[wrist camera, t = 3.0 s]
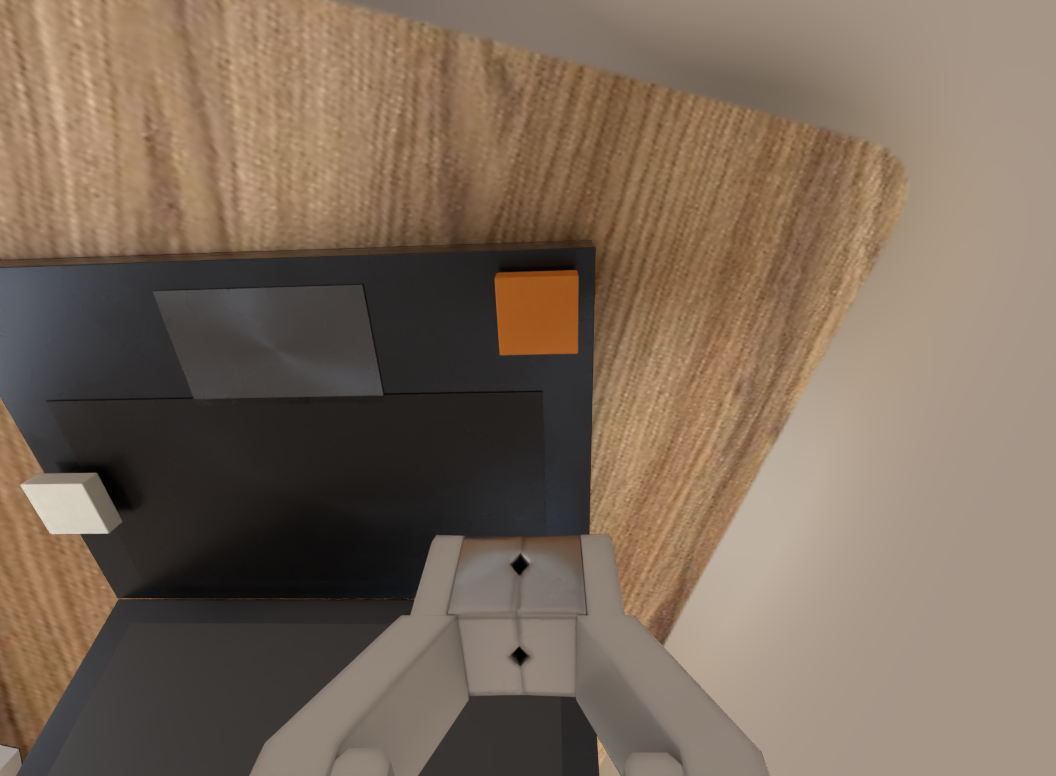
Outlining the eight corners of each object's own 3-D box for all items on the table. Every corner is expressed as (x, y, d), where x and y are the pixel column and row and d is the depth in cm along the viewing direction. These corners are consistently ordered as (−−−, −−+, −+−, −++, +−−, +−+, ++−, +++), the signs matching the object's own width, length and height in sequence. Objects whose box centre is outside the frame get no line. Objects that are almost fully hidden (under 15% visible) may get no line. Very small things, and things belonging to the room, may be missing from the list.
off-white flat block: (37, 473, 26) (18, 484, 25) (97, 472, 26) (81, 483, 25) (66, 521, 28) (49, 534, 27) (123, 521, 28) (109, 534, 27)
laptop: (-33, 261, 24) (-78, 270, 22) (592, 239, 22) (596, 247, 20) (138, 576, 33) (116, 599, 31) (585, 575, 31) (588, 600, 30)
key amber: (496, 272, 21) (494, 277, 20) (577, 269, 20) (578, 275, 20) (501, 347, 22) (499, 355, 21) (576, 345, 22) (578, 353, 21)
